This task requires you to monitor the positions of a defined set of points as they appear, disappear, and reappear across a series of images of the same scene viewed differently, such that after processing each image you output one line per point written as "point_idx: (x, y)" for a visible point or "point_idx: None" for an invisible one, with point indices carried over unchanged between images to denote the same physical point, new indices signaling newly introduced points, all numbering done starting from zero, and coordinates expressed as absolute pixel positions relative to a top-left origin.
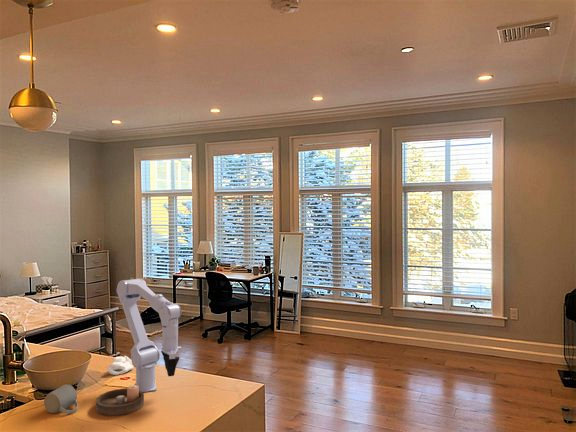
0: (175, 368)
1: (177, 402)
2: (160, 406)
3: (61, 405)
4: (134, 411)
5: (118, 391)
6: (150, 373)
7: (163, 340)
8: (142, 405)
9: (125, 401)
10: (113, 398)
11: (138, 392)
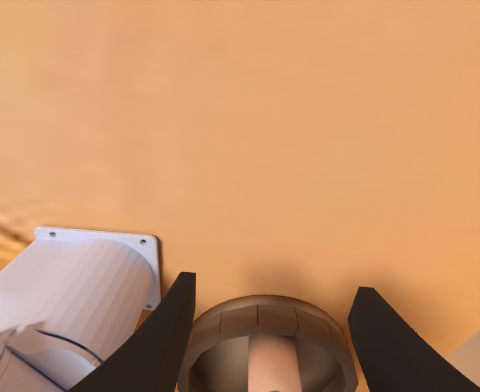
0: (422, 339)
1: (350, 176)
2: (348, 249)
3: None
4: (339, 328)
5: (189, 378)
6: (115, 327)
7: None
8: (305, 304)
9: None
10: (214, 375)
11: (285, 356)
